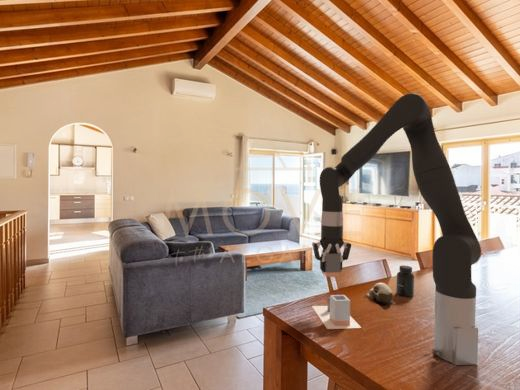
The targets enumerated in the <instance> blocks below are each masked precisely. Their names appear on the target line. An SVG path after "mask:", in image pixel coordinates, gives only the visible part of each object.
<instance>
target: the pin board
mask: <svg viewBox="0 0 520 390" xmlns="http://www.w3.org/2000/svg"><path fill="white" fill-rule="evenodd" d="M311 307H312V309H313V310H314V311H315V313H316V314H317V316H318V317H319V319H320V321H322V324H323V325H324V326H325V327H326V329H327V330H336V329H337V330H340V329H342V330H343V329H344V330H345V329H362V327H361V325H360V324H359V323H358V322H357V321H356V320H355V319H354V318H353V317H352V316H351V315H350V325H340V326H335V325H334V324H333V323H332V321H331V320H330V296H328V297H327V305H312V306H311Z"/></svg>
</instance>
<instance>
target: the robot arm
mask: <svg viewBox="0 0 520 390" xmlns="http://www.w3.org/2000/svg"><path fill="white" fill-rule="evenodd" d="M402 129H403V131H404V133H405V135H406V138H407V139H408V143H409V146H410V150H411V164H412V172H413V176H414V179H415V183H416V185H417V189H418V191H419V194H420V195H421V197H422V198H423V200H424V201H425V203H426V204H427V206H428V207H429V208H430V209H431V211H432V213H433V214H434V216H435V217H436V220H437V222H438V224H439V227H440V231H441V236H440V237H438V238H437V239H436V240H435V242H434V244H433V247H432V255H431V257H432V279H433V282H434V284H435V291H434V293H435V296H434V329H433V331H434V332H433V341H434V342H433V349H434V351H436V352H437V353H436V352H435V355H436V356H438V357H439V358H441V359H442V360H444V361H447V362H450V363H452V364H453V365H455V366H466V365H467V366H468V365H478V353H479V351H478V350H479V348H478V347H479V345H478V342H479V328H478V327H477V326H476V307H477V306H476V305H477V303H476V302H477V287H476V285H475V283H473V281H472V280H473V279H472V265H474V264H476V263H477V262H478V261H479V260H480V258H481V255H482V247H481V244H480V242H479V240H478V237H477V236H476V234H475V231H474V229H473V228H472V225H471V223H470V221H469V220H468V217H467V215H466V211H465V210H464V206H463V202H462V199H461V196H460V193H459V190H458V188H457V184H456V179H455V178H454V174H453V172H452V169H451V166H450V164H449V161H448V160H447V157H446V155H445V153H444V150H443V148H442V146H441V145H440V142H439V140H438V138H437V135H436V131H435V128H434V124H433V118H432V112H431V107H430V105H429V104H428V103H427V101H426V100H425V99H424V97H422V96H421V95H420V94H419V93H414V92H410V93H406V94H403V95H402V96H400V97H399V98H398V99H397V100H396V101H395V102H394V103H393V104H392V105H391V106H390V108H389V109H388V110H387V112H385V114H383V116H382V117H380V119H379V120H378V121H377V123H376V124H375V125H374V126H373V127H372V128H371V129H370V130H369V132H367V133H366V134H365V135H364V136H363V137H362V138H361V139H360V140H359V141H358V142H357V143H355V145H353V146H352V147H350V149H349V150H348V151H347V152H345V153H344V154H343V155H342V157H341V159H340V162H339V163H338V164H337V165H336V166H335V167H332V166H331V167H330V166H329V167H325V168H323V170H322V171H321V173H320V175H319V188H320V194H321V198H322V201H321V202H322V203H321V205H322V206H321V207H322V208H321V210H322V211H321V220H320V225H321V226H320V240H319V241H317V242H311V244H312V245H311V246H312V250H313V255H314V259H316V260H317V261H319V268H320V270H321V273H322V272H325V259H326V254H327V253H332V252H333V253H340V254H341V264H340V273H341V272H342V270H343V262H344V261H347V260H349V256H350V251H351V249H352V243H350V242H349V241H348V242H345V241H344V239H343V237H344V232H343V231H344V215H343V214H344V213H343V210H344V209H343V208H344V207H343V204H344V202H343V196H342V195H341V194H340V189H339V188H340V187H343V185H345V184H346V183H347V182H348V181H349V180H350V179H351V178H352V177H353V176H354V174H355V173H357V171H359V170H360V169H361V168H363V167H364V166H365V165H366V164H367V163H369V162H370V161H371V160H372V159H374V157H375V156H376V154H377V153H378V152H379V151H380V149H381V148H382V146H383V145H384V144H385V143H386V142H387V141H388V139H390V138H391V137H392V136H393V135H394V134H395V133H397V132H398V131H399V130H402ZM320 246H321V247H322V250H321V254H320V251H319V249H320ZM342 247H343V253H342V251H341V249H342Z"/></svg>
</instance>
